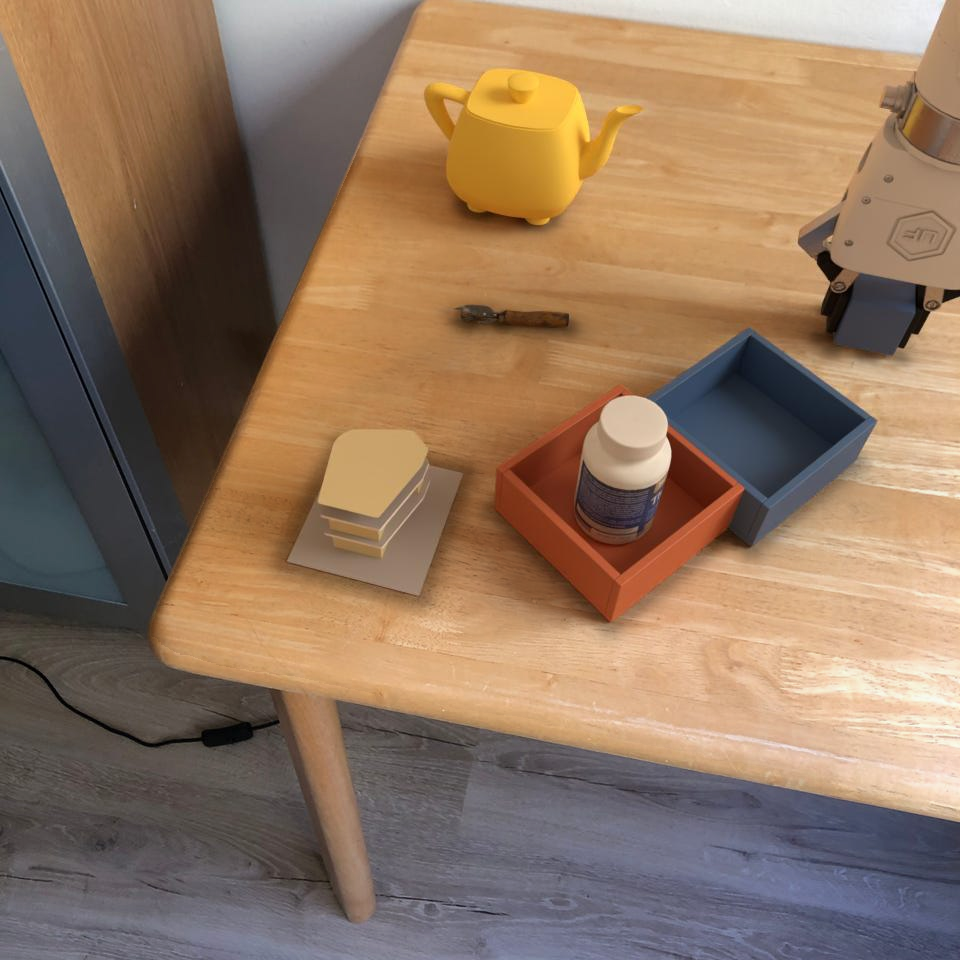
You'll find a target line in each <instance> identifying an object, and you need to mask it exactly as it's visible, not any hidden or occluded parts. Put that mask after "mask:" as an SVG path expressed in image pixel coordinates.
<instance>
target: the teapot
mask: <svg viewBox="0 0 960 960" xmlns="http://www.w3.org/2000/svg"><path fill="white" fill-rule="evenodd" d="M423 96H424V98H423V99H424V102H425V105H426V108H427V110H428V112H429V114H430V116H431V117H432V119H433V120H434V122H435V123H436V125H437V127H438V128H439V129H440V131H441V132H442V134H443V135H444V136H445V138H447V140H448V142H449V145H448V150H447V156H446V164H445V177H446V180H447V183H448V185H449V187H450V188H451V190H452V191H453V193H454V194H455V195H456V197H458V198H459V199H460V200H461V201H463V202H464V203H466V206H467V208H468V209H469V210H470V211H472V212H474V213H485V212H490V213H493V214H496V215H502V216H507V217H513V218H522V219H525V220H526V221H527V223H529V224H531V225H533V226H543V225H545V224H548V223H549V221H550V219H552V218H556V217H558V216H560V215H561V214H562V213H563V212H565V210H566V209H567V208H568V207H569V206H570V204H571V203H572V202H573V201H574V199H575V197H576V196H577V194H578V192H579V191H580V189H581V187H582V185H583V183H584V180H586V179H588V178H591V177H593V176H594V175H596V174H597V173H598V172H600V171H601V170H602V168H604V166H605V165H606V164H607V162H608V160H609V158H610V155H611V154H612V150H613V149H614V148H613V147H614V143H615V140H616V138H617V134H618V131H619V129H620V127H622V124H623V123H624V122H625V121H626V120H627V119H629V118H631V117H633V116H635V115H637V114H640V113H641V112H643V111H644V107H643V106H641V105H636V104H627V105H621V106H618V107H615V108H613V109H612V110H611V111H609V112H608V114H606V117H605V118H604V120H603V122H602V125H601V128H600V131H599V134H598V135H597V136H596V137H595V138H594V139H592V140H591V135H590V133H591V132H590V125H589V121H588V117H587V113H586V109H585V105H584V102H583V99H582V97H581V93H580V91H579V89H578V87H576V86H575V85H574V84H573V83H571V82H569V81H567V80H564V79H562V78H559V77H555V76H552V75H549V74H545V73H541V72H537V71H532V70H531V71H530V70H524V69H523V70H522V69H515V68H514V69H513V68H493V69H489V70H486V71H485V72H483V74H481V75H480V76H479V78H478V79H477V81H476V82H475V84H474V85H473V87H472V88H471V91H469V90H467V89H465V88H462V87H459V86H456V85H453V84H449V83H446V82H431V83H429V84H427V85H426V87H425V88H424V91H423ZM445 100H448V101H453V102H455V103H458V104H461V105H463V106H462V108H461V111H460V113H459V116H458V118H457V119H456V120H457V121H456V123H455V122H454V121H453V120H452V118H451V116H450V114H449V112H448V110H447V107H446V104H445Z"/></svg>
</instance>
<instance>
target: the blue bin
mask: <svg viewBox="0 0 960 960" xmlns="http://www.w3.org/2000/svg"><path fill="white" fill-rule="evenodd" d="M645 398H646V399H648V400H651V401H652V402H654V403H655V404H657V405H658V406H659V407H660V408H661V409H662V410H663V412H664V413H665V415H666V418H667V422H668V425H669V426H672V428H674V429H675V430H676V431H678V432H679V433H680V434H681V436H684V437H685V438H686V439H687V440H688V441H689V442H690V443H692V445H694V446H696V447H697V448H698V450H701V451H702V453H703V454H705V455H706V456H708V458H709V459H711V460H712V461H713V462H714V463H715V464H718V465H719V467H721V468H722V469H723V470H724V471H725V472H727V474H730V476H732V478H735V480H736V481H737V483H740V484H741V485H742V486H743V487H745V489H744V492H743V494H742V496H741V499H740V501H739V504H738V506H737V508H736V511H735V513H734V515H733V518H732V520H731V523H730V525H729V527H728V529H729V531H731V532H732V534H734V535H735V536H737V537H738V538H739V539H740V540H741V541H743V543H745V545H747V546H748V547H749V548H753V547H754V546H756V545H757V544H758V543H760V541H761V540H763V539H764V538H765V537H766V536H768V534H770V533H771V532H773V530H774V529H776V528H777V527H778V526H779V525H780V524H782V523H783V522H784V521H786V519H788V518H789V517H791V516H792V515H793V514H794V513H795V512H796V511H798V510H799V509H800V508H801V507H802V506H803V505H805V504H806V503H807V502H808V501H810V500H811V499H812V498H813V497H815V495H817V494H818V493H819V492H820V491H821V490H823V489H824V488H825V487H826V486H828V485H829V484H830V483H832V481H834V480H835V479H836V478H837V477H839V476H840V475H841V474H842V473H843V472H844V471H846V470H847V469H848V468H850V467H851V466H852V465H853V464H854V463H855V462H856V461H857V460H858V457H859V455H860V454H861V452H862V451H863V449H864V446H865V445H866V443H867V441H868V439H869V438H870V436H871V434H872V433H873V431H874V429H875V428H876V425H877V423H878V419H877V418H875V417H874V416H872V415H871V414H870V413H868V412H867V411H866V410H864V409H863V408H862V407H860V406H858V405H857V404H856V403H855V402H853V401H852V400H850V399H849V398H848V397H846V396H845V395H844V394H842V393H841V392H840V391H838V390H837V389H835V388H834V387H833V386H831V385H830V384H829V383H827V382H826V381H825V380H823V379H822V378H821V377H819V376H817V375H816V374H815V373H814V372H812V371H811V370H809V369H808V368H807V367H805V366H804V365H802V364H801V363H800V362H799V361H797V360H796V359H794V358H793V357H791V356H790V355H789V354H787V353H786V352H785V351H783V350H782V349H781V348H779V347H778V346H776V345H775V344H774V343H772V342H771V341H770V340H768V339H767V338H766V337H764V336H762V335H761V334H760V333H758V332H757V331H755V330H754V329H753V328H752V327H750V326H748V327H747V328H745V329H743V330H742V331H740V333H738V334H736V335H735V336H734V337H732V338H731V339H729V340H728V341H727V342H725V343H724V344H722V345H721V346H719V347H717V348H716V349H715V350H714V351H712V352H711V353H709V354H708V355H706V356H704V357H703V358H702V359H701V360H699V361H697V362H696V363H694V364H693V365H692V366H690V367H689V368H687V369H686V370H684V372H682V373H680V374H679V375H677V376H676V377H675V378H673V379H672V380H670V381H669V382H668V383H666V384H664V385H663V386H662V387H660V388H658V389H657V390H655V392H653V393H652V394H650V395H648V396H647V397H645Z"/></svg>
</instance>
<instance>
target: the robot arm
mask: <svg viewBox="0 0 960 960" xmlns="http://www.w3.org/2000/svg"><path fill="white" fill-rule="evenodd" d="M878 108H879V109H884V110H889V112H890V114H889V115H888V116H887V117H886V119H885V120H884V121H883V123H882V124H881V125H880V127H879V129H878V130H877V131H876V133H875V135H874V137H873V138H872V140H871V141H870V143H869V144H868V146H867V148H866V150H865V151H864V153H863V155H862V157H861V159H860V160H859V163H858V164H857V166H856V168H855V170H854V173H853V174H852V176H851V178H850V180H849V182H848V184H847V186H846V189H845V191H844V193H843V195H842V197H841V199H840V202H839V203H837V204H836V205H835V206H833V207H831V208H830V209H828V210H827V211H825V212H823V213H822V214H819V216H817V217H815V218H814V219H812V220H811V221H810V222H808V223H806V224H804V226H802V227H800V229H799V230H798V237H797V245H798V246H799V248H801V249H802V250H803V251H804V252H805V253H806V254H807V255H808V256H809V257H810V258H811V259H814V260H815V261H816V265H817V267H818V268H819V270H820V271H821V272H822V274H823V275H824V276H825V277H826V279H827V280H828V282H829V285H828V287H827V290H826V292H825V295H824V297H823V299H822V303H821V307H820V313H819V314H820V316H823V317H826V323H825V334H829V335H834V333H835V332H836V330H837V328H838V326H839V323H840V321H841V319H842V317H843V314H844V312H845V310H846V308H847V305H848V303H849V301H850V297H851V287H852V283H853V282H854V280H855V279H856V278H857V277H858V276H859V274H860V273H864V274H869V275H874V276H879V277H884V278H889V279H894V280H899V281H904V282H910V283H915V284H916V300H915V315H914V317H913V319H912V320H911V322H910V324H909V326H908V328H907V330H906V332H905V334H904V336H903V338H902V340H901V341H900V343H899V345H898V347H897V349H898V348H899V349H905V348H906V346H907V345H908V342H909V340H910V339H911V336H912V335H916V336H918V335H919V334H920V333H921V331H922V329H923V327H924V325H925V323H926V321H927V320H928V318H929V316H930V315H931V313H932V312H936V311H938V310H940V309H941V307H942V304H944V303H947V302H949V301H952V300H955V299H958V298H960V0H945V1H944V4H943V6H942V9H941V11H940V14H939V16H938V19H937V20H936V23H935V26H934V28H933V31H932V33H931V35H930V38H929V41H928V42H927V45H926V48H925V50H924V53H923V55H922V57H921V60H920V62H919V64H918V67H917V69H916V70H914V71H913V72H912V75H911V77H910V80H907V81H905V84H904V85H900V84H898V85H897V86H892V85H888V84H887V85H884V87H883V89H882V92H881V95H880V99H879V103H878ZM830 237H831V241H828V238H830Z"/></svg>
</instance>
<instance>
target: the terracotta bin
mask: <svg viewBox="0 0 960 960" xmlns="http://www.w3.org/2000/svg"><path fill="white" fill-rule="evenodd" d="M622 396H636V395H635V394H634V393H632V391H630V389H627V387H625V386H624V385H623V384H621V383H620V384H618V385H617V386H615V387H614V388H612V389H611V390H609V391H608V392H606V393H605V394H603V395H602V396H600V397H599V398H597V399H596V400H594V401H593V402H591V403H590V404H589V405H587V406H585V407H584V408H583V409H581V410H579V411H578V412H577V413H575V414H573V415H572V416H570V417H569V418H568V419H566V420H564V421H563V422H562V423H560V424H559V425H557V426H555V428H553V429H551V430H550V431H549V432H547V433H546V434H544V435H543V436H541V437H540V438H538V439H537V440H535V441H534V442H532V443H531V444H529V445H528V446H525V448H523V449H521V450H520V451H519V452H518V453H516V454H514V455H512V457H510V458H508V459H506V461H504V462H503V463H500V464H499V465H498V466H497V467H495V483H494V501H493V502H494V504H493V508H494V509H495V510H496V511H497V512H498V514H500V515H501V516H502V517H503V518H504V520H506V521H507V522H508V523H509V524H510V525H511V526H512V527H513V528H514V530H516V531H517V532H518V533H519V534H520V535H521V536H522V537H523V538H524V539H525V540H526V541H527V542H528V543H529V544H530V545H531V546H532V547H533V548H534V549H535V550H536V551H537V552H538V553H540V555H541V556H542V557H544V559H545V560H546V561H547V562H548V563H549V564H551V566H553V568H555V570H556V571H558V572H559V574H561V576H563V577H564V578H565V579H566V580H567V582H569V583H570V584H571V585H572V586H573V588H575V590H577V591H578V592H579V593H580V594H581V595H582V596H583V597H584V598H585V599H586V600H587V601H588V602H589V604H591V605H592V606H593V607H594V608H595V609H596V610H597V611H598V612H599V613H601V615H602V616H603V617H605V619H606V620H608V621H609V622H610V623H612V622H614V620H616V619H617V618H618V617H620V616H621V615H622V614H623V613H625V611H627V610H628V609H630V608H631V607H632V606H633V605H635V604H636V603H637V602H638V601H640V600H641V599H642V598H644V597H645V596H646V595H647V594H649V592H651V591H653V590H654V588H656V587H657V586H658V585H660V584H661V583H662V582H663V581H664V580H666V579H667V578H668V577H670V576H671V575H673V573H675V572H676V571H677V570H678V569H679V568H681V567H682V566H683V565H685V563H687V562H688V561H689V560H690V559H692V558H693V557H695V555H697V554H698V553H700V552H701V551H702V550H703V549H704V548H705V547H707V546H708V545H710V544H711V543H712V542H713V541H714V540H715V539H717V538H718V537H719V536H721V534H723V533H725V531H727V530H728V529H729V528H728V527H729V525H730V523H731V520H732V518H733V515H734V513H735V511H736V508H737V506H738V504H739V501H740V499H741V496H742V494H743V492H744V489H745V487H743V486H742V485H741V484H740V483H737V481H736V480H735V478H732V476H730V474H727V472H725V471H724V470H723V469H722V468H721V467H719V465H718V464H715V463H714V462H713V461H712V460H711V459H709V458H708V456H706V455H705V454H703V453H702V451H701V450H698V448H697V447H696V446H694V445H692V443H690V442H689V441H688V440H687V439H686V438H685V437H684V436H681V434H680V433H679V432H678V431H676V430H675V429H674V428H672V426H669V425H668V428H667V434H666V437H667V439H668V441H669V443H670V447H671V462H670V466H669V470H668V473H667V476H666V480H665V483H664V486H663V490H662V493H661V496H660V500H659V503H658V506H657V510H656V513H655V516H654V519H653V522H652V524H651V526H650V528H649V530H648V531H647V532H646V533H645V534H644V535H643V536H642V537H641V538H640V539H638V540H636V541H634V542H631V543H626V544H618V545H615V544H607V543H603V542H600V541H598V540H595V539H593V538H592V537H590V536H589V535H587V534H586V533H585V532H584V531H583V530H582V529H581V527H580V526H579V525H578V523H577V521H576V518H575V515H574V495H575V491H576V485H577V480H578V474H579V468H580V461H581V455H582V449H583V444H584V440H585V437H586V435H587V433H588V431H589V430H590V429H591V428H592V426H593V425H595V424H596V423H597V422H598V421H599V419H600V415H601V412H602V410H603V408H604V407H605V405H606V404H607V403H609V402H610V401H611V400H613V399H615V398H618V397H622Z"/></svg>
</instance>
